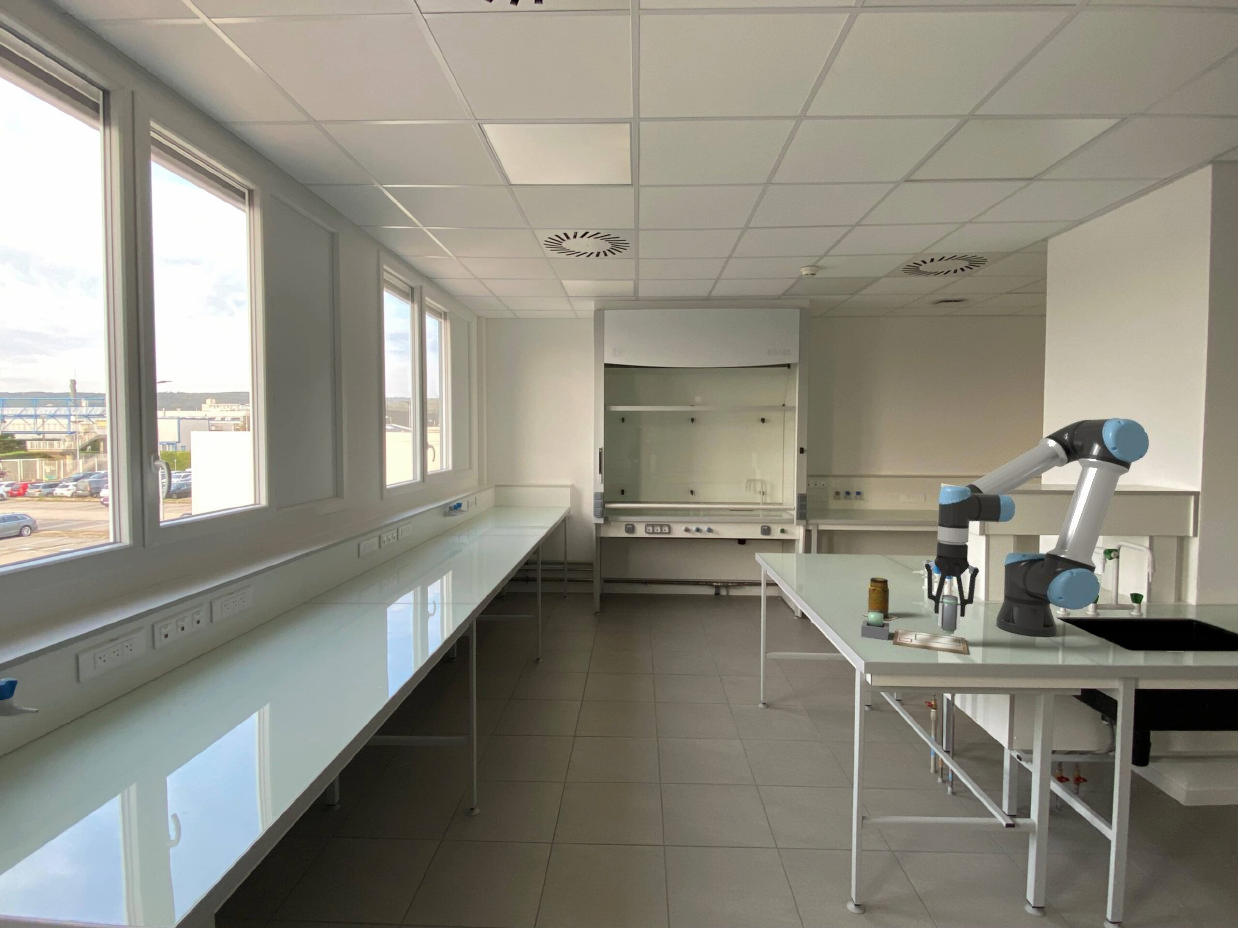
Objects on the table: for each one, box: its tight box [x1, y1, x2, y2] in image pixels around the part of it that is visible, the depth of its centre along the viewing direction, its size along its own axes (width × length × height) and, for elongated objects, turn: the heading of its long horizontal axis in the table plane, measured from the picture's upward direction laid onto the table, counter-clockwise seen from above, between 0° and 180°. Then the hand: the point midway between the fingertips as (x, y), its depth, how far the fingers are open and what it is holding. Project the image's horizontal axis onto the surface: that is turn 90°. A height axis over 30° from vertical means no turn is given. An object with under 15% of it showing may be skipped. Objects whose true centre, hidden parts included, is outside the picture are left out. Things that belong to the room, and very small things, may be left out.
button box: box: [860, 619, 890, 641], centre depth 183 cm, size 7×7×3 cm
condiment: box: [863, 577, 899, 621], centre depth 203 cm, size 7×8×12 cm
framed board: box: [892, 628, 968, 656], centre depth 177 cm, size 18×14×1 cm
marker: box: [940, 594, 959, 635], centre depth 175 cm, size 4×4×10 cm
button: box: [867, 612, 884, 626], centre depth 183 cm, size 4×4×3 cm
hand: (948, 626), depth 176 cm, fingers closed on marker, 4 cm apart
